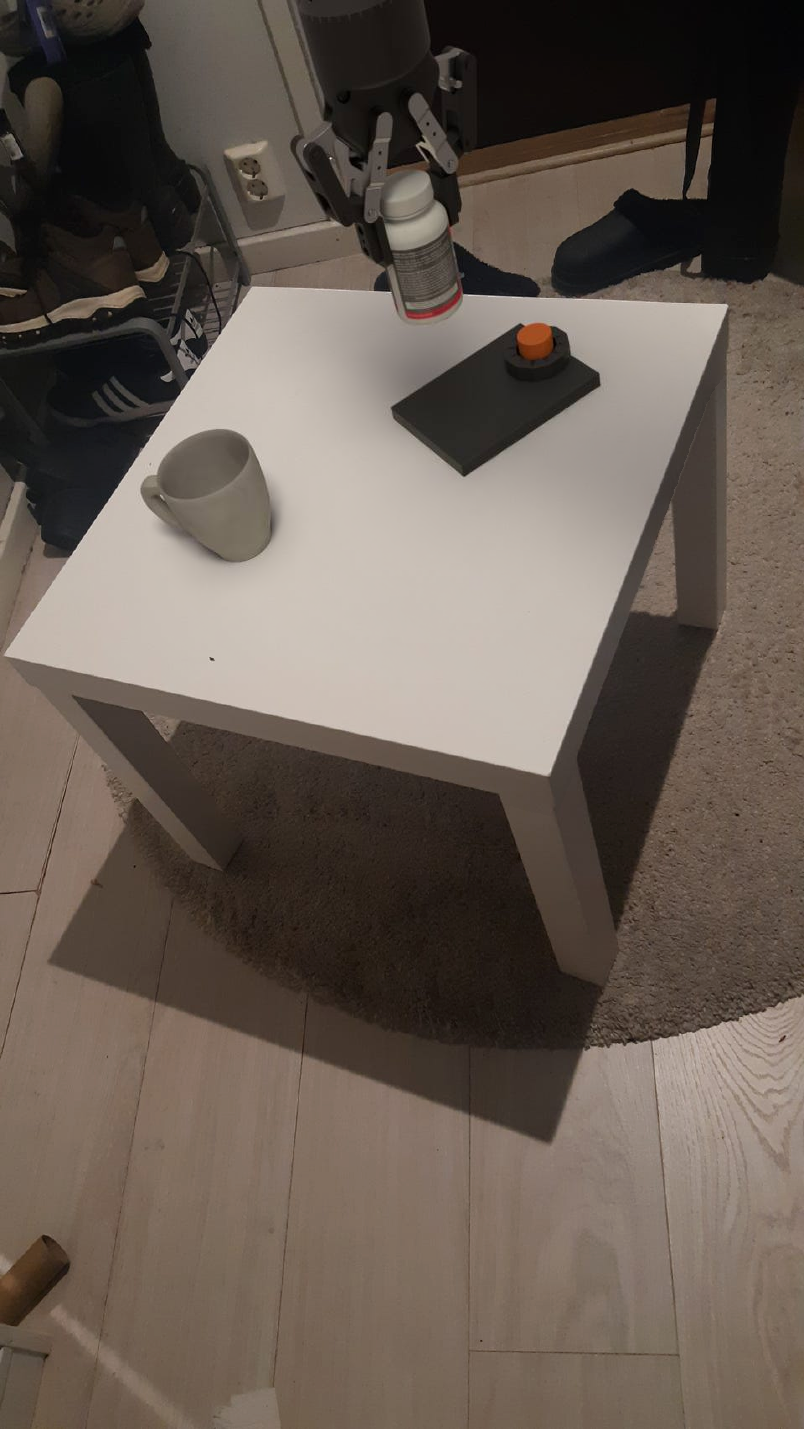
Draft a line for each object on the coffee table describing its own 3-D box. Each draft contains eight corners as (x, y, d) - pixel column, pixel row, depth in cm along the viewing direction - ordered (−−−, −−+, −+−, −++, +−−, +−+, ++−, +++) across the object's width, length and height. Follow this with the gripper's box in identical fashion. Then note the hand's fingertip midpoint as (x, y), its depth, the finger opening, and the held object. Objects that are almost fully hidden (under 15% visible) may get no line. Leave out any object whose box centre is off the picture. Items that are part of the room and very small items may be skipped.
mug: (299, 504, 93) (263, 425, 85) (274, 576, 88) (234, 499, 81) (186, 507, 96) (142, 431, 89) (157, 577, 92) (108, 503, 84)
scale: (526, 331, 99) (522, 305, 96) (605, 382, 92) (603, 355, 90) (393, 418, 96) (385, 394, 94) (464, 477, 89) (457, 452, 87)
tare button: (539, 334, 94) (537, 318, 93) (560, 347, 92) (558, 331, 91) (512, 351, 93) (510, 335, 92) (533, 365, 92) (531, 349, 90)
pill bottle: (478, 296, 76) (455, 172, 68) (431, 336, 75) (401, 215, 67) (429, 277, 79) (402, 156, 71) (383, 316, 78) (349, 196, 70)
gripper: (287, 51, 56) (364, 311, 69) (487, -65, 58) (523, 210, 72) (226, 22, 60) (310, 273, 74) (415, -85, 62) (462, 178, 76)
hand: (415, 241), depth 72 cm, fingers closed on pill bottle, 5 cm apart
